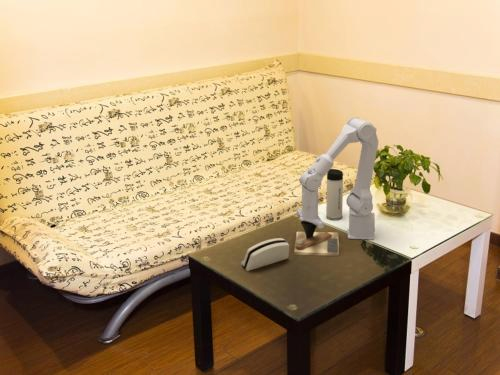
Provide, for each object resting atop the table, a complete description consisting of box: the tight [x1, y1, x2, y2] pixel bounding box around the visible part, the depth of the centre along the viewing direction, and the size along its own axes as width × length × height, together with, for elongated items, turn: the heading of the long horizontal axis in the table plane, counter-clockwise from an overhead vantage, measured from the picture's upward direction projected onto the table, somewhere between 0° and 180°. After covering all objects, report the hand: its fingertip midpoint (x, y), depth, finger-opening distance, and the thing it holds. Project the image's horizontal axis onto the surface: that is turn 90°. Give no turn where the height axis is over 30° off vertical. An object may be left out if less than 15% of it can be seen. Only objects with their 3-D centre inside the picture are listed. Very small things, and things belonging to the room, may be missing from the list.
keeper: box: [327, 238, 338, 253], centre depth 206 cm, size 4×5×3 cm
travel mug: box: [325, 168, 344, 221], centre depth 231 cm, size 6×7×20 cm
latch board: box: [293, 231, 340, 257], centre depth 212 cm, size 16×17×1 cm
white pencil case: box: [240, 237, 290, 272], centre depth 199 cm, size 17×5×10 cm, turn 121°
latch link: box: [294, 231, 332, 250], centre depth 211 cm, size 15×4×2 cm, turn 125°
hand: (309, 239), depth 213 cm, fingers closed
